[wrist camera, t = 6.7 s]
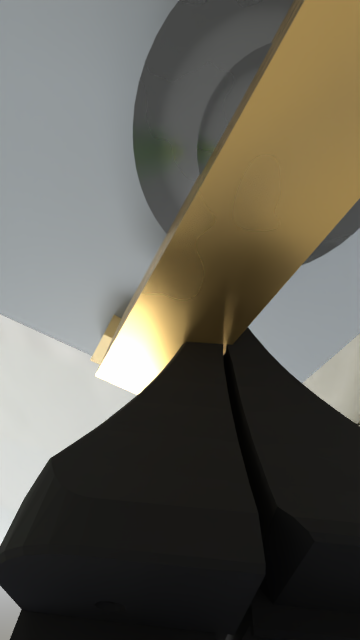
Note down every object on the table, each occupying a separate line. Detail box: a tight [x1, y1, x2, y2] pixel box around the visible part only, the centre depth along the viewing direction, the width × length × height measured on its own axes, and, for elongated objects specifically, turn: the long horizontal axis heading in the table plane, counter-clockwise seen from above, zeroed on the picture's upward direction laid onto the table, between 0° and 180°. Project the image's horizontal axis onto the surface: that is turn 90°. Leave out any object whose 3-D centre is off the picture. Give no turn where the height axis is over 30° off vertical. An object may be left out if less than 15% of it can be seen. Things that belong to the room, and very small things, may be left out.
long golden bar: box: [95, 0, 360, 394], centre depth 6 cm, size 7×13×4 cm, turn 151°
